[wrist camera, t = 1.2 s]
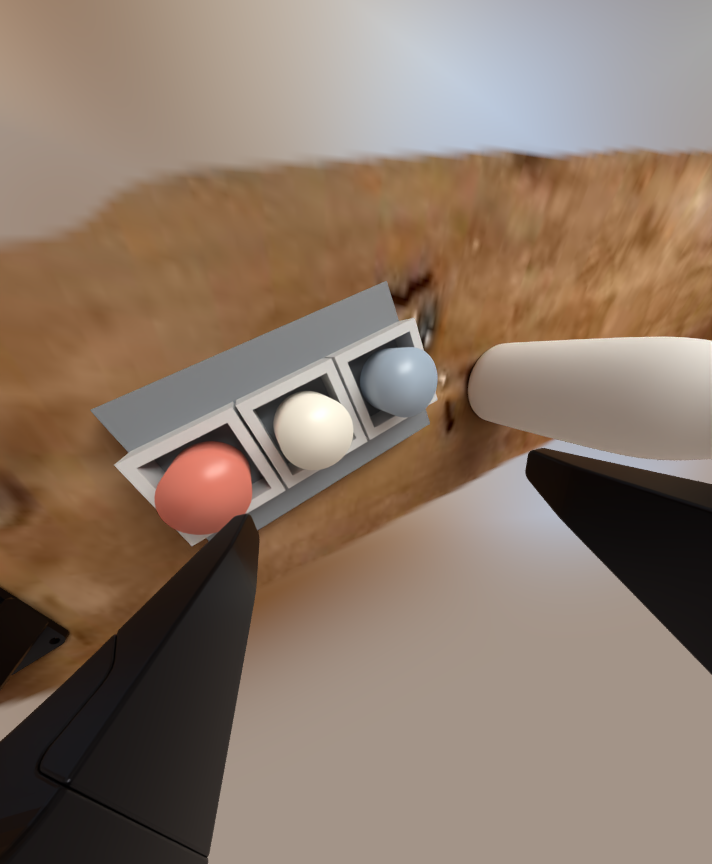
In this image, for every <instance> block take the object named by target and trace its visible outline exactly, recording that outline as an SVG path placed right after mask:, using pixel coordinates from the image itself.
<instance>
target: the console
mask: <svg viewBox="0 0 712 864" xmlns="http://www.w3.org/2000/svg"><path fill="white" fill-rule="evenodd" d="M404 347H415V348H419V349H421V350H423V346H422V343H421V339H420V336H419V332H418V328H417V325H416V321H415V318H411V319H407V320H402V321H399V320H398V317H397V314H396V310H395V307H394V304H393V301H392V297H391V294H390V291H389V287H388V284H387V281H385V282H383V283H381V284H378V285H376V286H374V287H371V288H369V289H367V290H364V291H362V292H360V293H358V294H355V295H353V296H351V297H348V298H346V299H344V300H342V301H339V302H337V303H335V304H332V305H330V306H328V307H325V308H323V309H321V310H319V311H316V312H314V313H312V314H309V315H307V316H305V317H303V318H300V319H298V320H296V321H293V322H291V323H289V324H287V325H284V326H282V327H280V328H277V329H275V330H273V331H270V332H268V333H266V334H264V335H261V336H259V337H257V338H254V339H252V340H250V341H248V342H245V343H243V344H241V345H238V346H236V347H234V348H231V349H229V350H227V351H225V352H222V353H220V354H218V355H215V356H213V357H211V358H209V359H206V360H204V361H202V362H199V363H197V364H195V365H192V366H190V367H188V368H186V369H183V370H181V371H179V372H176V373H174V374H172V375H170V376H167V377H165V378H163V379H160V380H158V381H156V382H153V383H151V384H149V385H147V386H144V387H142V388H140V389H137V390H135V391H133V392H131V393H128V394H126V395H124V396H121V397H119V398H117V399H114V400H112V401H110V402H108V403H105V404H103V405H101V406H98V407H96V408H94V409H92V410H90V411H91V412H92V413H93V414H94V415H95V416H96V417H97V418H98V419H99V421H100V422H101V423H102V424H103V425H104V426H105V427H106V428H107V429H108V431H109V432H110V433H111V434H112V435H113V436H114V437H115V438H116V439H117V440H118V442H119V443H120V444H121V445H122V446H123V447H124V448H125V449H126V450H127V451H128V454H127V455H125V456H124V457H123V458H122V459H121V460H119V461H118V462H117V463H116V464H115V465H114V466H115V467H116V468H117V469H118V470H119V471H120V472H121V473H122V474H123V475H124V476H125V477H126V478H127V479H128V480H129V481H130V482H131V483H132V484H133V485H134V487H135V488H136V489H137V490H138V491H139V492H140V493H141V494H142V495H143V496H144V497H145V498H146V499H147V500H148V501H149V502H150V503H151V504H152V505H153V506H154V507H155V491H156V488H157V485H158V483H159V482H160V480H161V478H162V477H163V475H164V474H165V472H166V471H167V469H168V468H169V466H170V465H171V463H172V462H173V460H174V459H175V458H176V456H177V455H178V454H179V453H180V452H182V451H183V450H184V449H186V448H187V447H189V446H191V445H194V444H197V443H200V442H206V441H217V442H223V443H226V444H229V445H232V446H233V447H235V448H237V449H238V450H240V451H241V452H242V453H243V454H244V456H245V457H246V458H247V460H248V462H249V465H250V469H251V482H252V499H251V503H250V506H249V508H248V510H247V511H246V513H248V514H250V515H251V517H252V519H253V521H254V524H255V526H256V528H257V530H259V529H260V528H262V527H264V526H265V525H267V524H268V523H270V522H272V521H273V520H275V519H277V518H278V517H280V516H281V515H283V514H285V513H286V512H288V511H290V510H291V509H293V508H294V507H296V506H298V505H299V504H301V503H302V502H304V501H306V500H307V499H309V498H311V497H312V496H314V495H315V494H317V493H319V492H320V491H322V490H323V489H325V488H327V487H328V486H330V485H332V484H333V483H335V482H336V481H338V480H340V479H341V478H343V477H345V476H346V475H348V474H349V473H351V472H353V471H354V470H356V469H357V468H359V467H361V466H362V465H364V464H366V463H367V462H369V461H370V460H372V459H374V458H375V457H377V456H378V455H380V454H382V453H383V452H385V451H387V450H388V449H390V448H391V447H393V446H395V445H396V444H398V443H399V442H401V441H403V440H404V439H406V438H408V437H409V436H411V435H412V434H414V433H416V432H417V431H419V430H421V429H422V428H424V427H425V426H427V425H429V424H430V422H429V419H428V415H427V412H426V409H424V410H423V411H422V412H420V413H419V414H417V415H415V416H412V417H406V418H403V417H398V416H395V415H392V414H390V413H387V412H385V411H382V410H379V409H377V408H375V407H373V406H371V405H370V404H369V403H368V402H367V401H366V399H365V398H364V396H363V394H362V391H361V387H360V376H361V372H362V369H363V366H364V364H365V362H366V361H367V360H368V358H369V357H370V356H371V355H372V354H374V353H375V352H377V351H379V350H382V349H387V348H404ZM423 351H424V350H423ZM300 391H314V392H318V393H320V394H323V395H325V396H327V397H329V398H331V399H333V400H335V401H337V402H339V403H340V404H341V405H343V406H344V408H345V409H346V410H347V411H348V413H349V415H350V417H351V419H352V423H353V439H352V443H351V445H350V448H349V449H348V451H347V453H346V454H345V455H344V456H343V457H342V459H340V460H339V461H338V462H337V463H335V464H334V465H332V466H330V467H328V468H325V469H321V470H306V469H302V468H299V467H297V466H295V465H294V464H292V463H291V462H290V461H289V460H288V459H287V458H286V457H285V455H284V454H283V452H282V450H281V448H280V445H279V443H278V441H277V438H276V436H275V433H274V428H273V420H274V415H275V413H276V410H277V408H278V407H279V405H280V404H281V403H282V402H283V401H284V400H285V399H286V398H287V397H288V396H290V395H292V394H294V393H297V392H300ZM436 400H437V396H436V393H435V394H434V397H433V399H432V400H431V402H430V404H431V403H433V402H435V401H436ZM430 404H429V405H430ZM155 508H156V507H155ZM177 531H178V530H177ZM178 532H179V533H180V534H181V535H182V537H183V538H184V539H185V540H186V541H187V542H188V543H189V544H190V545H191V546H193V545H195V544H197V543H198V542H200V541H202V540H203V539H205V538H207V540H208V541H210V540H211V539H212V538H213V537H214V536H215V535H216V534H217V533H218V532H216V533H212V534H205V535H194V534H187V533H183V532H180V531H178Z"/></svg>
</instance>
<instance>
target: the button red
mask: <svg viewBox="0 0 712 864" xmlns="http://www.w3.org/2000/svg"><path fill="white" fill-rule="evenodd" d="M251 499H252V482H251V469H250V465H249V462H248V460H247V458H246V457H245V456H244V454H243V453H242V452H241V451H240V450H238V449H237V448H235V447H233V446H232V445H229V444H226V443H223V442H217V441H206V442H200V443H197V444H194V445H191V446H189V447H187V448H186V449H184V450H183V451H182V452H180V453H179V454H178V455H177V456H176V458H175V459H174V460H173V462H172V463H171V465H170V466H169V468H168V469H167V471H166V472H165V474H164V475H163V477H162V478H161V480H160V482H159V483H158V485H157V488H156V491H155V507H156V510H157V512H158V514H159V516H160V517H161V519H162V520H163V521H164V522H165V523H166V524H167V525H169V526H170V527H172V528H174V529H176V530H178V531H180V532H183V533H187V534H194V535H205V534H212V533H216V532H219V531H220V530H221V529H222V528H223V527H224V526H225V525H226V524H227V523H228V522H229V521H230V520H231V519H232V518H233V517H234V516H237V515H241V514H245V513H246V511H247V510H248V508H249V506H250V503H251Z"/></svg>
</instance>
